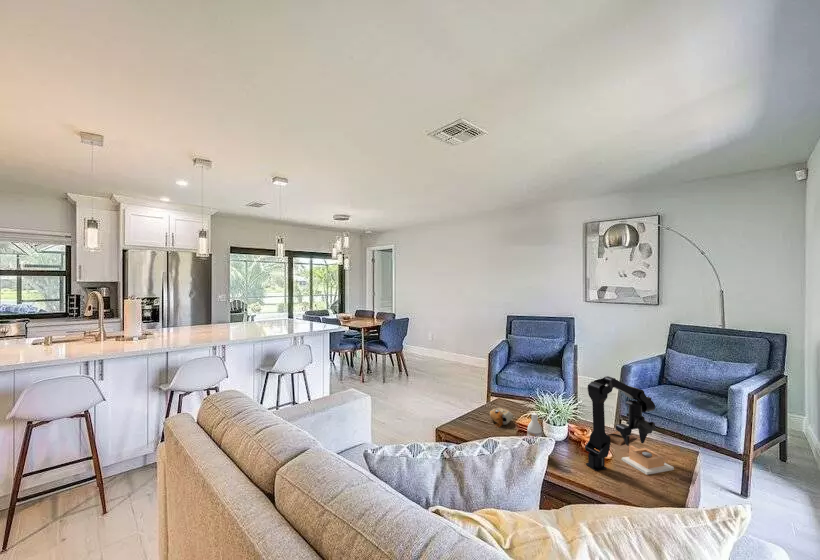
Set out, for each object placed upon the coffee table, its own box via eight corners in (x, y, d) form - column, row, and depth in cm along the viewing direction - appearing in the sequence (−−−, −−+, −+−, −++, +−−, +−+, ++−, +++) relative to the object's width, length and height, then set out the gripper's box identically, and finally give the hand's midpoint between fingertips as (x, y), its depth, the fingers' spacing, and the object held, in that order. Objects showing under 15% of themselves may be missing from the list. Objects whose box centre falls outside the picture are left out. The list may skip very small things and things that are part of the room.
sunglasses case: (620, 446, 198) (614, 433, 201) (609, 448, 203) (603, 435, 206) (637, 438, 208) (631, 426, 211) (626, 440, 213) (620, 428, 216)
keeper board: (646, 474, 170) (646, 463, 170) (621, 460, 183) (621, 449, 183) (673, 469, 174) (673, 458, 174) (647, 455, 188) (647, 445, 188)
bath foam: (524, 451, 192) (524, 412, 192) (534, 448, 195) (535, 410, 195) (533, 457, 186) (534, 417, 186) (544, 454, 189) (544, 415, 188)
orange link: (647, 468, 173) (647, 460, 173) (622, 454, 186) (622, 446, 186) (664, 465, 176) (664, 457, 176) (638, 452, 189) (638, 444, 189)
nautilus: (505, 433, 215) (481, 428, 224) (516, 419, 233) (493, 415, 242) (504, 419, 215) (480, 415, 223) (516, 406, 233) (493, 403, 241)
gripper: (634, 421, 175) (633, 454, 175) (664, 417, 180) (664, 449, 180) (615, 412, 186) (614, 444, 186) (644, 409, 191) (644, 439, 191)
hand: (634, 444), depth 185 cm, fingers open, 9 cm apart
